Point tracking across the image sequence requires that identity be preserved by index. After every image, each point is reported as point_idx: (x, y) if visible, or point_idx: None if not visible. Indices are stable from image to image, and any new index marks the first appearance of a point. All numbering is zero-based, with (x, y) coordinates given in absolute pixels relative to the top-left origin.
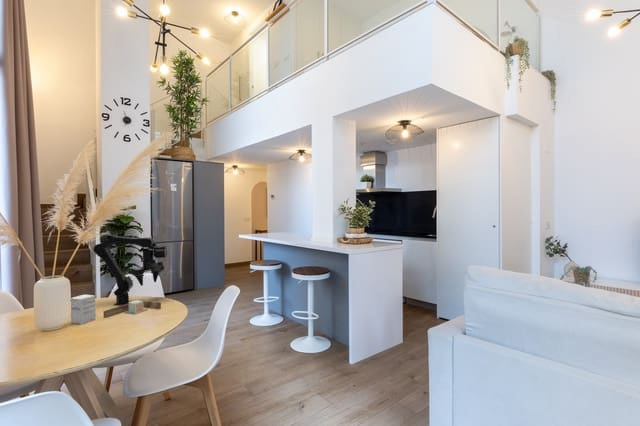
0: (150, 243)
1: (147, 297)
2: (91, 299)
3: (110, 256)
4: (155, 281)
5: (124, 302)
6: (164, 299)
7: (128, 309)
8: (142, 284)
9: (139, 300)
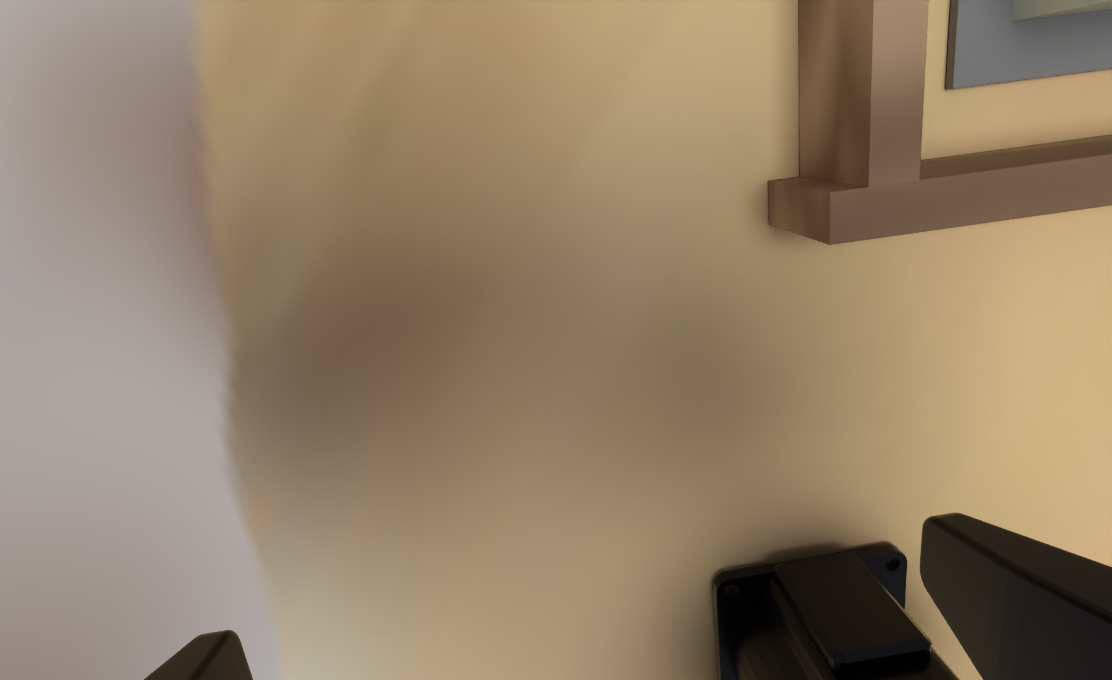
0: None
1: (359, 648)
2: None
3: None
4: (216, 647)
5: (866, 567)
6: (241, 201)
7: (1095, 139)
8: (981, 528)
9: (905, 206)
